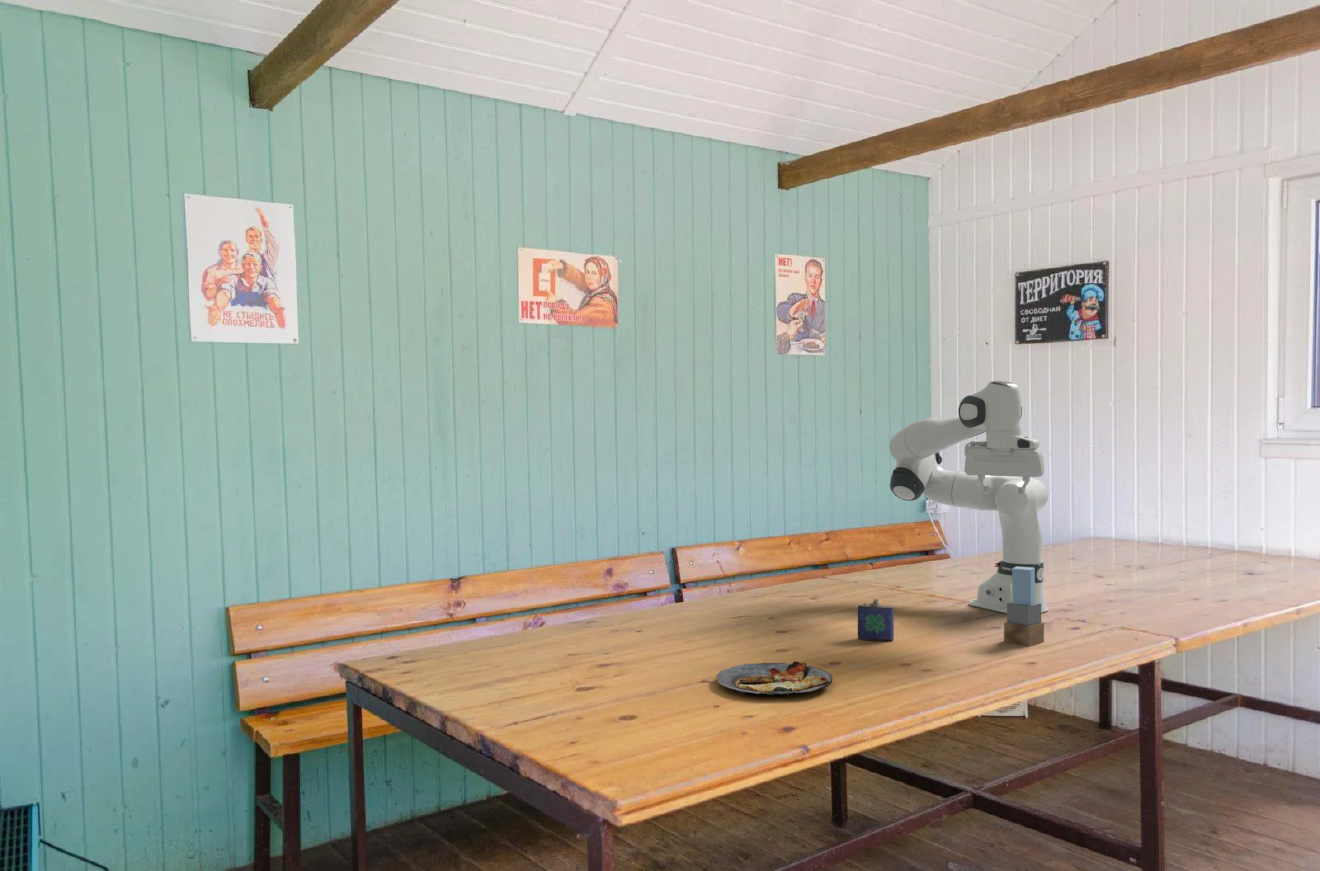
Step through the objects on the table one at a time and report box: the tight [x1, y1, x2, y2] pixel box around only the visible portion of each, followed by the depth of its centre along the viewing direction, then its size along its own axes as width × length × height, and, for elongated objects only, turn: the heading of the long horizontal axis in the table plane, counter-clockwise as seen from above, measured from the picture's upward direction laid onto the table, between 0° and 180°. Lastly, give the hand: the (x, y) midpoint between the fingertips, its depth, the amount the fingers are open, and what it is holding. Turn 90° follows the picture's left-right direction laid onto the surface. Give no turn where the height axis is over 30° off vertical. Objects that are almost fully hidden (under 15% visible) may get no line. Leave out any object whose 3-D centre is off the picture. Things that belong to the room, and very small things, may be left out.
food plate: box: [716, 660, 833, 696], centre depth 211 cm, size 25×23×4 cm
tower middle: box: [1006, 602, 1042, 626], centre depth 249 cm, size 6×6×5 cm
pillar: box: [1012, 566, 1035, 605], centre depth 249 cm, size 4×4×9 cm
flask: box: [857, 598, 895, 643], centre depth 252 cm, size 9×3×11 cm, turn 74°
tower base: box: [1003, 621, 1045, 647], centre depth 249 cm, size 7×7×5 cm
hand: (1003, 493), depth 260 cm, fingers open, 8 cm apart
